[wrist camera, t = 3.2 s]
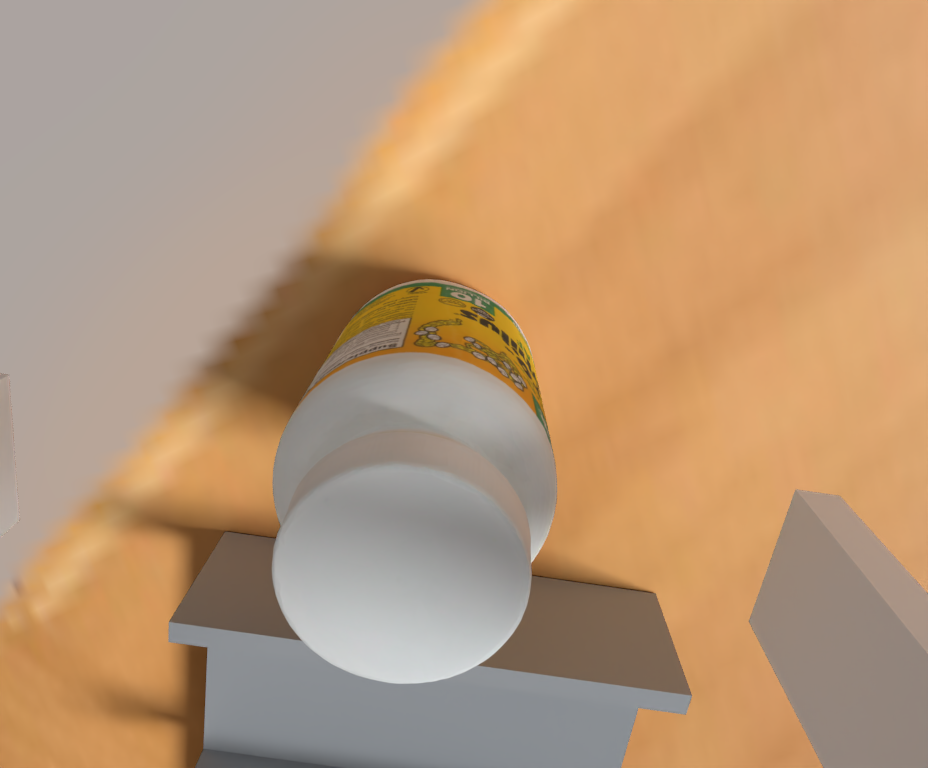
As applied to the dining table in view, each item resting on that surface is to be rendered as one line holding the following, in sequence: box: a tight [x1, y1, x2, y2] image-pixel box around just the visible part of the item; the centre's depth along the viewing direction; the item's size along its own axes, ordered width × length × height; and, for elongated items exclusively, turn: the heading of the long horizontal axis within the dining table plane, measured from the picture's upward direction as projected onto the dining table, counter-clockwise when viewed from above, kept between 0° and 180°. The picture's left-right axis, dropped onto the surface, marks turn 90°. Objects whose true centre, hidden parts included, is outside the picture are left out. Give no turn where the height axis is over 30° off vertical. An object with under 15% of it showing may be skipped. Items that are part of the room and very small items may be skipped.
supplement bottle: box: [272, 279, 557, 684], centre depth 16 cm, size 5×5×10 cm
